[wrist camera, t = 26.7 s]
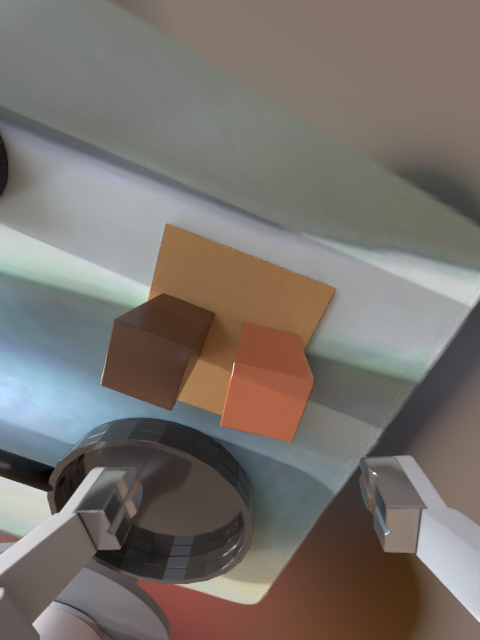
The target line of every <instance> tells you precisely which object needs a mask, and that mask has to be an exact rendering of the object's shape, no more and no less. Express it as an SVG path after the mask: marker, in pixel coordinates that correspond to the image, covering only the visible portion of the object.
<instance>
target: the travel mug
mask: <svg viewBox="0 0 480 640" xmlns="http://www.w3.org/2000/svg"><path fill="white" fill-rule="evenodd" d="M7 174H8V165H7V157H6V152H5V148H4V145H3V142H2V139H1V137H0V196H1V194H2V192H3V190H4V188H5V185H6V181H7Z"/></svg>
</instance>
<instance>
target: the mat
mask: <svg viewBox="0 0 480 640" xmlns="http://www.w3.org/2000/svg"><path fill="white" fill-rule="evenodd" d="M335 290H336V289H335V288H334V287H331V286H328V285H326V284H323V283H321V282H318V281H315V280H313V279H310V278H308V277H305V276H302V275H300V274H297V273H295V272H292V271H289V270H287V269H284V268H282V267H279V266H276V265H274V264H271V263H269V262H266V261H263V260H261V259H258V258H256V257H253V256H250V255H248V254H245V253H243V252H240V251H237V250H235V249H232V248H230V247H227V246H224V245H222V244H219V243H217V242H214V241H211V240H209V239H206V238H204V237H201V236H198V235H196V234H193V233H191V232H188V231H185V230H183V229H180V228H177V227H175V226H172V225H170V224H166V225H165V230H164V234H163V238H162V242H161V247H160V251H159V255H158V259H157V264H156V268H155V272H154V277H153V281H152V285H151V289H150V294H149V298H148V301H149V300H151V299H153V298H154V297H156V296H158V295H160V294H162V293H165V294H167V295H170V296H173V297H175V298H178V299H180V300H183V301H185V302H188V303H191V304H193V305H196V306H198V307H201V308H203V309H206V310H209V311H211V312H214V313H215V315H214V318H213V321H212V324H211V326H210V329H209V332H208V335H207V337H206V340H205V343H204V346H203V348H202V351H201V354H200V357H199V359H198V361H197V363H196V365H195V367H194V369H193V371H192V372H191V374H190V376H189V378H188V380H187V382H186V384H185V386H184V388H183V390H182V391H181V393H180V395H179V397H178V399H177V400H179V401H182V402H185V403H188V404H190V405H193V406H196V407H199V408H202V409H204V410H207V411H210V412H213V413H216V414H218V415H221V416H222V414H223V409H224V405H225V400H226V396H227V391H228V387H229V382H230V378H231V373H232V369H233V364H234V360H235V355H236V351H237V347H238V342H239V338H240V333H241V329H242V324H243V322H245V323H250V324H254V325H259V326H263V327H268V328H272V329H276V330H281V331H285V332H290V333H294V334H297V335H298V338H299V340H300V343H301V346H302V348H303V351H304V350H305V348H306V346H307V344H308V342H309V341H310V339H311V337H312V335H313V333H314V331H315V329H316V327H317V325H318V323H319V321H320V319H321V317H322V315H323V313H324V311H325V309H326V307H327V305H328V304H329V302H330V300H331V298H332V296H333V294H334V292H335Z"/></svg>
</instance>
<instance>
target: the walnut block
mask: <svg viewBox="0 0 480 640" xmlns="http://www.w3.org/2000/svg"><path fill="white" fill-rule="evenodd" d="M214 315H215V313H214V312H211V311H209V310H206V309H203V308H201V307H198V306H196V305H193V304H191V303H188V302H185V301H183V300H180V299H178V298H175V297H173V296H170V295H167V294H165V293H162V294H160V295H158V296H156V297H154V298H153V299H151V300H149V301H147V302H145V303H143V304H141V305H140V306H138V307H136V308H134V309H132V310H130V311H129V312H127V313H125V314H123V315H121V316H119V317H118V318H116V319H114V322H113V326H112V331H111V336H110V341H109V346H108V351H107V356H106V361H105V365H104V370H103V375H102V380H101V385H102V386H105V387H107V388H110V389H113V390H115V391H118V392H121V393H124V394H126V395H129V396H132V397H134V398H137V399H140V400H143V401H145V402H148V403H151V404H153V405H156V406H159V407H162V408H164V409H167V410H170V411H171V410H172V409H173V407H174V405H175V403H176V401H177V399H178V397H179V395H180V393H181V391H182V390H183V388H184V386H185V384H186V382H187V380H188V378H189V376H190V374H191V372H192V371H193V369H194V367H195V365H196V363H197V361H198V359H199V357H200V354H201V351H202V348H203V346H204V343H205V340H206V337H207V335H208V332H209V329H210V326H211V324H212V321H213V318H214Z"/></svg>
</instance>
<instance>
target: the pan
mask: <svg viewBox="0 0 480 640" xmlns="http://www.w3.org/2000/svg"><path fill="white" fill-rule="evenodd" d="M96 467H135V469H136V471H137V473H138V474H137V476H136V479H137V480H139V481H140V482H141V484H142V487H143V497H142V502H141V505H140V507H139V510H138V512H137V513H136V514H135V515H134V516H133V517H132V518H131V519H130V523H131V527H130V530H129V532H128V534H127V536H126V538H125V541H124V543H123V545H122V547H121V549H120V550H96V551H97V552H96V553H95V555H94V556H93V557H92V559H93V560H95V561H96V562H98V563H100V564H102V565H104V566H106V567H108V568H110V569H112V570H114V571H116V572H118V573H121V574H125V575H128V576H131V577H134V578H137V579H141V580H145V581H151V582H157V583H164V584H189V583H195V582H201V581H207V580H210V579H212V578H215V577H217V576H220V575H222V574H225V573H227V572H228V571H229V570H231V569H232V568H233V567H235V566H236V565H237V564H238V563H240V562H241V561H242V559H243V557H244V556H245V554H246V553H247V551H248V549H249V548H250V545H251V540H252V534H253V523H254V503H253V494H252V489H251V486H250V483H249V480H248V478H247V476H246V474H245V472H244V471H243V469H242V468H241V466H240V465H239V463H238V462H237V461H236V460H235V459H234V458H233V456H232V455H231V454H230V453H229V452H228V451H226V450H225V449H224V448H223V447H222V446H221V445H219V444H218V443H216V442H215V441H213V440H212V439H211V438H209V437H207V436H205V435H204V434H202V433H200V432H198V431H196V430H193V429H191V428H189V427H186V426H184V425H180V424H177V423H174V422H170V421H165V420H160V419H152V418H127V419H121V420H115V421H112V422H108V423H105V424H103V425H101V426H98V427H96V428H94V429H93V430H91V431H90V432H88V433H87V434H86V435H85V436H83V437H82V438H81V439H80V440H79V441H78V442H77V443H75V444H74V446H73V447H72V448H71V449H70V450H69V451H68V452H67V453H66V454H65V455H64V457H63V458H62V459H61V460H60V461H59V462H58V464H57V465H56V467H55V469H54V471H53V472H52V474H51V476H50V477H49V484H50V485H51V486H52V487H53V489H54V490H53V491H52V492H48V493H47V498H48V502H49V506H50V510H51V514H52V515H54V514H55V513H60V512H61V510H62V509H63V508H64V506H65V505H66V503H67V502H68V501H69V499H70V498H71V497H72V495H73V494H74V493H75V491H76V490H77V489H78V487H79V486H80V485H81V483H82V482H83V481H84V479H85V478H86V477H87V475H88V474H89V473H90V471H91V470H93V469H94V468H96ZM64 476H66V479H65V482H64V484H63V485H62V486H61V487H60V488H59V489H58V490H56V488H57V485H58V483H59V482H60V480H61V479H62V478H63V477H64Z"/></svg>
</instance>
